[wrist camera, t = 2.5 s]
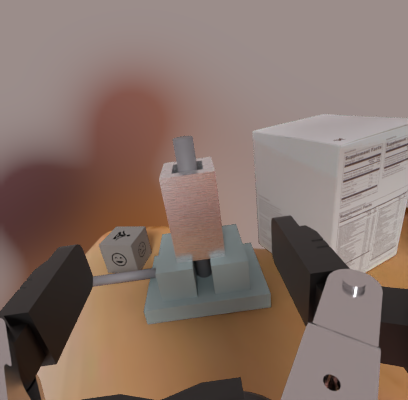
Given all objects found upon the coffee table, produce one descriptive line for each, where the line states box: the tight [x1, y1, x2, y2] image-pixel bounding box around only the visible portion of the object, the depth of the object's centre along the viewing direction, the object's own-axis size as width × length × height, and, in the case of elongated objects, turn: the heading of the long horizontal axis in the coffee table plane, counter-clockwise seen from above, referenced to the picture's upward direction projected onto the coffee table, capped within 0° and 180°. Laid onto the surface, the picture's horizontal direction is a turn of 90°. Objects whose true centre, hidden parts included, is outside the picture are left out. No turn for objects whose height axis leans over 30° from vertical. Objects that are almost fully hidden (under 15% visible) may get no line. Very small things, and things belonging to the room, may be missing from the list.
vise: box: [93, 136, 271, 324], centre depth 30 cm, size 21×10×19 cm, turn 93°
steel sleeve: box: [159, 157, 225, 263], centre depth 29 cm, size 5×5×10 cm
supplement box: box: [253, 114, 408, 273], centre depth 34 cm, size 13×13×18 cm
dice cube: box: [99, 227, 152, 273], centre depth 40 cm, size 5×5×5 cm
